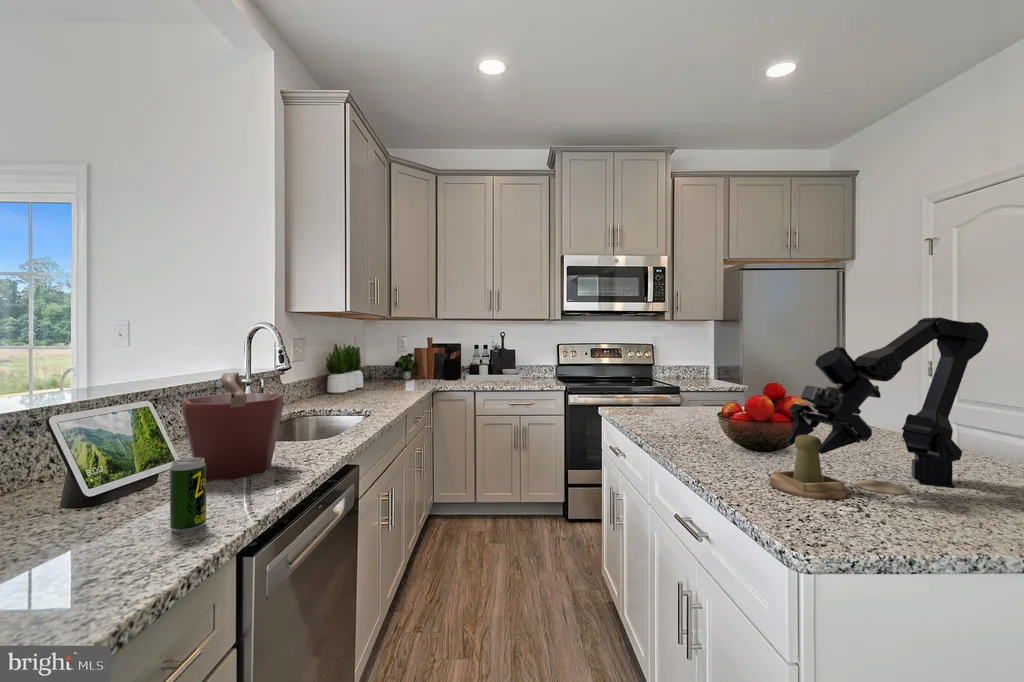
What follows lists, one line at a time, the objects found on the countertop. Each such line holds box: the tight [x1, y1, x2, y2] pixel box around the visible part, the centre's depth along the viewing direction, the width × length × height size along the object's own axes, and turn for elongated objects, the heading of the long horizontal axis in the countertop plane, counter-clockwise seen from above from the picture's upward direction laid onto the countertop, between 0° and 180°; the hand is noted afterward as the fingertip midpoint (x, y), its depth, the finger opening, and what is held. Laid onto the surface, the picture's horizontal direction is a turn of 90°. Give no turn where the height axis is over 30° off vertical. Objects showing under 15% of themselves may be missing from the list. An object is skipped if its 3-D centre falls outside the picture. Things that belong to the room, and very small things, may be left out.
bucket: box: [181, 372, 284, 481], centre depth 122 cm, size 24×22×25 cm
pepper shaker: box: [793, 434, 823, 483], centre depth 109 cm, size 6×6×11 cm
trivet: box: [769, 470, 848, 500], centre depth 109 cm, size 15×15×3 cm
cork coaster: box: [856, 479, 907, 495], centre depth 110 cm, size 9×9×1 cm
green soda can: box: [169, 457, 207, 534], centre depth 86 cm, size 5×5×12 cm
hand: (803, 447), depth 109 cm, fingers open, 9 cm apart
